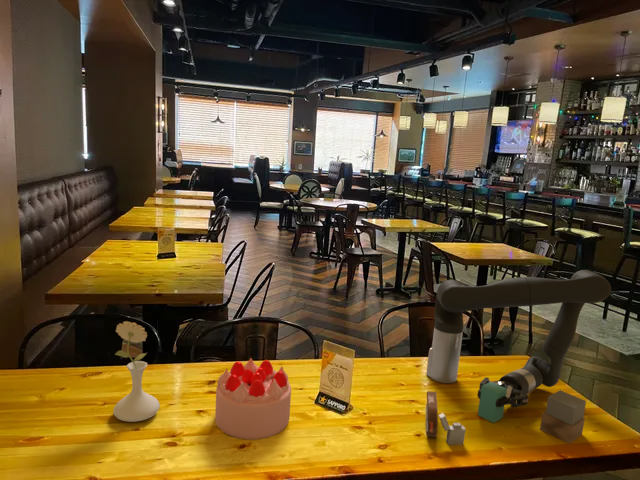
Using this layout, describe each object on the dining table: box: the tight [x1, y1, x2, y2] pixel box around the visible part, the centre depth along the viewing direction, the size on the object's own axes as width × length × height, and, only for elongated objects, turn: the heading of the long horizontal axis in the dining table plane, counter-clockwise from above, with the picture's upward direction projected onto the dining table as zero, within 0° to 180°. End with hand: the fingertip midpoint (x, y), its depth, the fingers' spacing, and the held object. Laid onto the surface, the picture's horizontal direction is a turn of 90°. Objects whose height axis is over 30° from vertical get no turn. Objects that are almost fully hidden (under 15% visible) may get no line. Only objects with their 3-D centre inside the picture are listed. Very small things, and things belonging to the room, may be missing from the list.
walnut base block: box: [539, 410, 586, 445], centre depth 128 cm, size 8×8×5 cm
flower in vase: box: [113, 321, 161, 423], centre depth 120 cm, size 13×11×25 cm
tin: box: [425, 390, 439, 438], centre depth 125 cm, size 15×3×8 cm, turn 168°
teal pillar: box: [477, 381, 507, 424], centre depth 133 cm, size 5×5×9 cm
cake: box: [214, 357, 292, 441], centre depth 123 cm, size 20×20×14 cm
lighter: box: [438, 412, 466, 446], centre depth 118 cm, size 7×2×8 cm, turn 98°
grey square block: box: [545, 390, 587, 425], centre depth 127 cm, size 7×7×5 cm
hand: (488, 399), depth 131 cm, fingers closed on teal pillar, 5 cm apart
